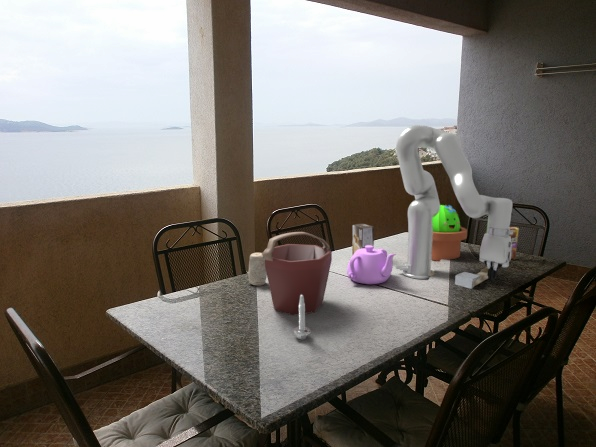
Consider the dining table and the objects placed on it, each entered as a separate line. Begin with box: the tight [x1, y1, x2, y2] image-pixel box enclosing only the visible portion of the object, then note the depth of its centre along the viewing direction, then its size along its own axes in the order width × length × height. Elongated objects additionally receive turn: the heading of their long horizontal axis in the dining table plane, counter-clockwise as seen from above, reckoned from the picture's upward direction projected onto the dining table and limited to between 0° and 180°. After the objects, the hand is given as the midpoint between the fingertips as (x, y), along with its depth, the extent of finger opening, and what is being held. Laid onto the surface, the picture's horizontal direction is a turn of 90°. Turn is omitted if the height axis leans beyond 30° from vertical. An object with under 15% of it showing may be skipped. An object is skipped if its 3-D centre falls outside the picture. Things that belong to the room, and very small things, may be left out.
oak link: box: [473, 266, 489, 288], centre depth 169 cm, size 18×4×3 cm, turn 135°
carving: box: [247, 252, 268, 287], centre depth 170 cm, size 6×8×12 cm
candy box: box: [509, 226, 520, 260], centre depth 199 cm, size 9×4×15 cm, turn 98°
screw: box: [293, 294, 311, 340], centre depth 124 cm, size 13×5×5 cm
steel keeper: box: [454, 271, 481, 289], centre depth 165 cm, size 6×6×4 cm
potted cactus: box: [431, 204, 468, 262], centre depth 205 cm, size 22×22×25 cm
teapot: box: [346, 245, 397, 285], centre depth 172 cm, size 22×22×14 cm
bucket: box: [261, 231, 333, 316], centre depth 148 cm, size 24×22×25 cm
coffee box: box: [351, 223, 375, 257], centre depth 201 cm, size 9×6×16 cm
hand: (491, 278), depth 166 cm, fingers closed
